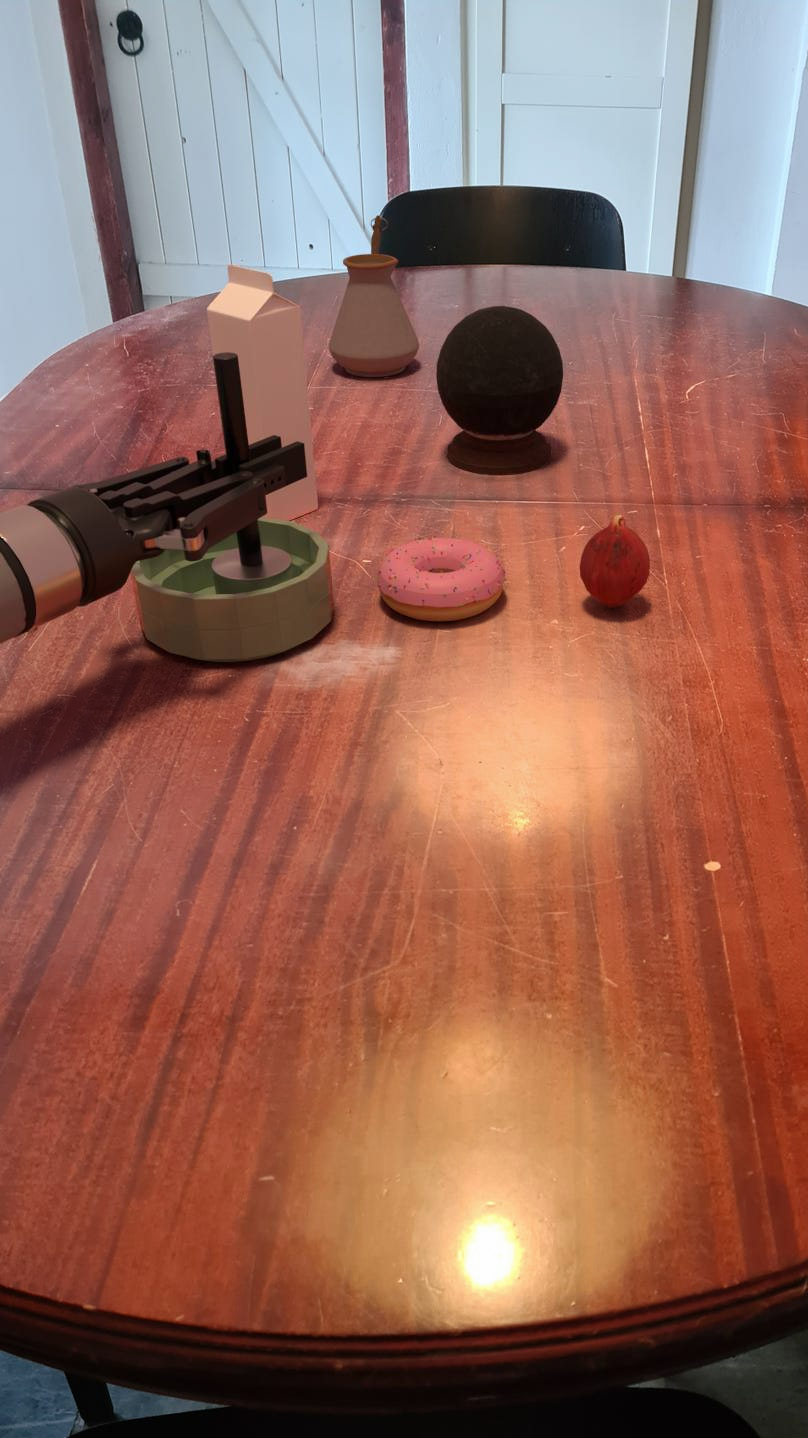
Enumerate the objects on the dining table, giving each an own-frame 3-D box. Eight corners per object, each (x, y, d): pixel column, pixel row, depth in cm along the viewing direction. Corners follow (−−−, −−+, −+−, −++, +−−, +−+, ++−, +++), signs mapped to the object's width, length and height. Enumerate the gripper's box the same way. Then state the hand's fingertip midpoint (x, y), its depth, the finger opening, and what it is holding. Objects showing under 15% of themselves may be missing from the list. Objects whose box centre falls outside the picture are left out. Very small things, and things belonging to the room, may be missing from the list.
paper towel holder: (201, 606, 100) (162, 363, 88) (242, 574, 104) (210, 339, 93) (270, 619, 98) (240, 373, 86) (309, 586, 102) (285, 348, 91)
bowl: (105, 648, 99) (90, 579, 96) (209, 570, 111) (199, 506, 107) (274, 683, 94) (266, 612, 91) (365, 598, 106) (360, 532, 102)
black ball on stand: (412, 456, 133) (407, 308, 124) (498, 426, 140) (498, 284, 131) (500, 488, 126) (501, 333, 116) (585, 454, 133) (592, 307, 124)
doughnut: (409, 564, 111) (406, 520, 109) (523, 583, 108) (524, 538, 105) (355, 616, 103) (352, 570, 101) (478, 638, 100) (477, 591, 97)
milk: (273, 528, 118) (244, 281, 104) (232, 512, 121) (199, 270, 108) (320, 509, 122) (298, 267, 108) (279, 493, 125) (252, 257, 111)
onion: (643, 625, 102) (651, 533, 97) (574, 620, 102) (578, 528, 98) (648, 594, 106) (656, 505, 101) (582, 589, 107) (586, 500, 102)
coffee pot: (417, 382, 153) (412, 250, 144) (325, 382, 153) (314, 251, 144) (426, 334, 170) (422, 214, 161) (343, 334, 170) (335, 214, 161)
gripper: (-4, 580, 89) (230, 481, 104) (135, 637, 82) (364, 522, 97) (-31, 479, 85) (218, 391, 100) (114, 530, 78) (358, 426, 93)
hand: (290, 455), depth 98 cm, fingers closed on paper towel holder, 2 cm apart
